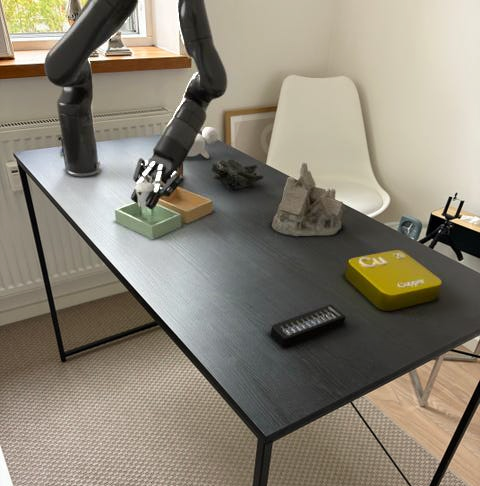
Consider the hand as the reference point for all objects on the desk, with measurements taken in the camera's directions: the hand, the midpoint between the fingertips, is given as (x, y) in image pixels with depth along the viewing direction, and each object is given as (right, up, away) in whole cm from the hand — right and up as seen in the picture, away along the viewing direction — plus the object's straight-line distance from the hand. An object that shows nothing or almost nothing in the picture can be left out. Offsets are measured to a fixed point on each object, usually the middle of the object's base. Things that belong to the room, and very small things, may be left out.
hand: (141, 204), depth 118 cm
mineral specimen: (+23, +12, +27) cm, 37 cm away
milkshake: (+1, -3, +4) cm, 5 cm away
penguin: (+9, +27, +46) cm, 55 cm away
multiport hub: (+37, -30, -26) cm, 54 cm away
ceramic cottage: (+41, -4, +9) cm, 42 cm away
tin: (+5, +12, +27) cm, 30 cm away
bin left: (+1, -4, +5) cm, 6 cm away
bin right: (+8, +1, +12) cm, 15 cm away
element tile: (+56, -21, -12) cm, 61 cm away
